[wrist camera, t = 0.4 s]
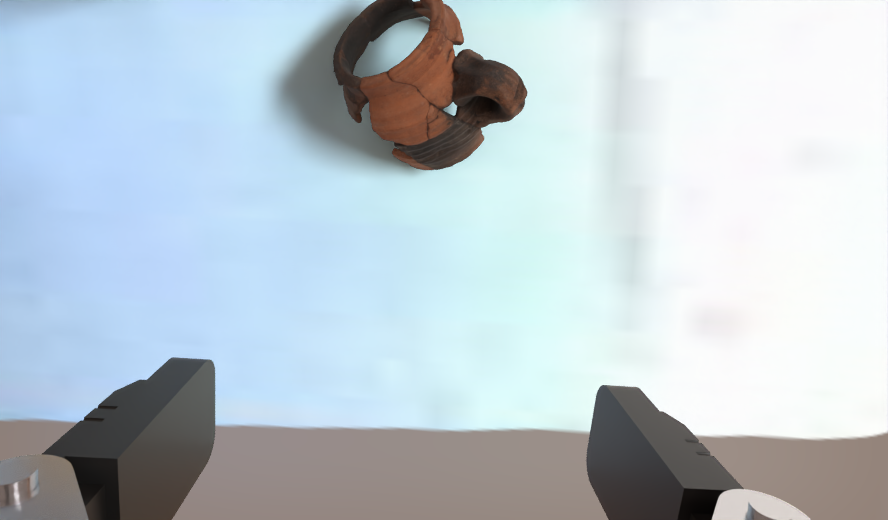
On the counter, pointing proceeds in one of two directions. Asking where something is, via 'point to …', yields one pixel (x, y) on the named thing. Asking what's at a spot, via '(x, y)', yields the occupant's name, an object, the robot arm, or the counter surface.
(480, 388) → the counter surface
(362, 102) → the dark brown curved loop
